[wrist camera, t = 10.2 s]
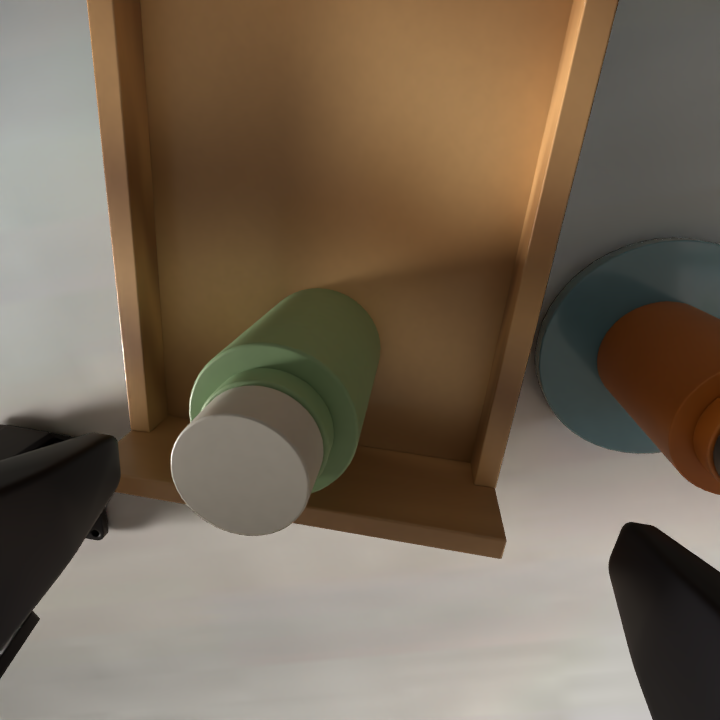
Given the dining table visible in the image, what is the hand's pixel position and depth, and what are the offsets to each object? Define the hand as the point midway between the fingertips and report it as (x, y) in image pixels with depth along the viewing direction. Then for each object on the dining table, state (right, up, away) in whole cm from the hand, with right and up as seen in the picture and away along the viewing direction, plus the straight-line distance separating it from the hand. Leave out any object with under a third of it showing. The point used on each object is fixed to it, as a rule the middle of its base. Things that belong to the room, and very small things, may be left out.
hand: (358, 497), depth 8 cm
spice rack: (-1, +8, +11) cm, 13 cm away
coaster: (+12, +3, +11) cm, 16 cm away
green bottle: (-1, +3, +9) cm, 10 cm away
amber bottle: (+12, +3, +10) cm, 16 cm away
